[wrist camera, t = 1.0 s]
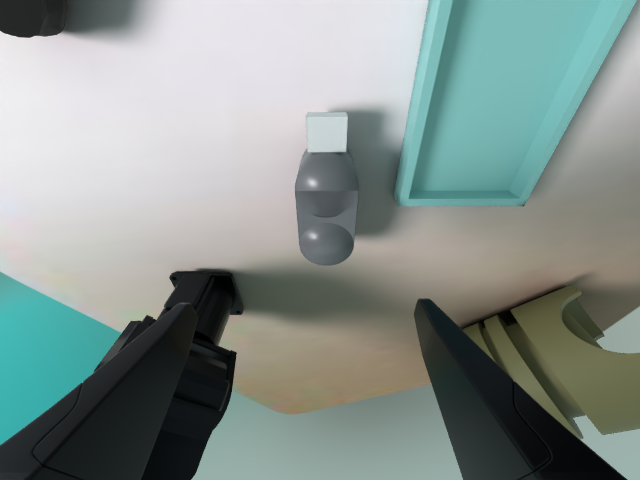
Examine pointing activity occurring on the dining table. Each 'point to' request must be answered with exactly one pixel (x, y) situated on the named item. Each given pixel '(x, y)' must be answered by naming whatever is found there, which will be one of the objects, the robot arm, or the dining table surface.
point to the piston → (565, 363)
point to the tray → (498, 95)
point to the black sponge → (32, 17)
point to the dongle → (326, 191)
